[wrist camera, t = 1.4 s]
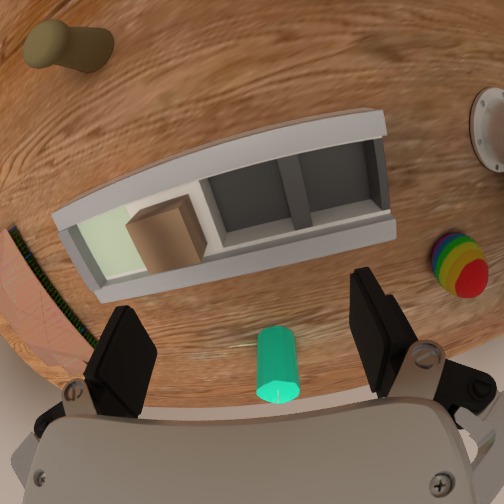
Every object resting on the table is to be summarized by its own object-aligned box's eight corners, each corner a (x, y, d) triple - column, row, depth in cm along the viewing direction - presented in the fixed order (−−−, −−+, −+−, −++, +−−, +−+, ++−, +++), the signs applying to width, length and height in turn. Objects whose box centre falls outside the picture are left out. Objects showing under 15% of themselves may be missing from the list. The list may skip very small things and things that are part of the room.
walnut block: (188, 193, 28) (178, 208, 25) (207, 243, 31) (201, 262, 28) (139, 209, 29) (125, 225, 26) (160, 255, 32) (149, 275, 28)
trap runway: (363, 107, 26) (384, 110, 21) (379, 218, 33) (398, 240, 28) (73, 197, 32) (48, 215, 27) (116, 280, 39) (99, 305, 34)
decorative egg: (472, 244, 34) (507, 280, 26) (440, 280, 38) (469, 322, 29) (450, 215, 32) (491, 251, 24) (415, 257, 36) (448, 300, 27)
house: (59, 363, 54) (47, 387, 47) (-22, 258, 39) (-42, 279, 32) (117, 356, 50) (104, 388, 43) (17, 219, 35) (-13, 242, 27)
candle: (296, 347, 45) (303, 408, 35) (261, 352, 46) (261, 413, 36) (291, 322, 42) (298, 388, 32) (253, 329, 43) (251, 394, 33)
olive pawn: (120, 55, 23) (64, 45, 14) (81, 81, 25) (21, 85, 15) (106, 19, 21) (52, 1, 11) (69, 46, 22) (10, 41, 12)
